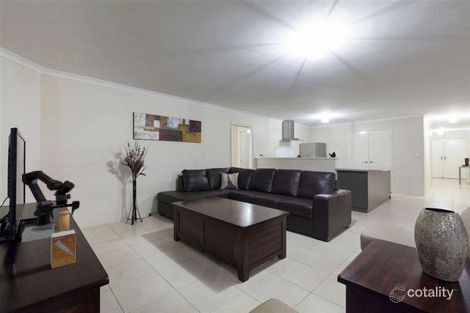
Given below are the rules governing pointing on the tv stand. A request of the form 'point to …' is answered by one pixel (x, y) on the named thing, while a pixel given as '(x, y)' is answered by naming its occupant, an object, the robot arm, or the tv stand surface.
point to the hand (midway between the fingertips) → (62, 217)
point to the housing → (37, 232)
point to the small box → (63, 248)
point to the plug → (63, 221)
